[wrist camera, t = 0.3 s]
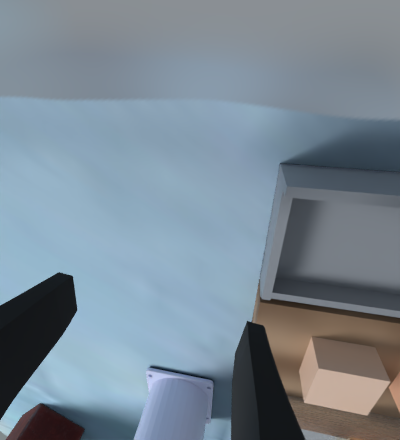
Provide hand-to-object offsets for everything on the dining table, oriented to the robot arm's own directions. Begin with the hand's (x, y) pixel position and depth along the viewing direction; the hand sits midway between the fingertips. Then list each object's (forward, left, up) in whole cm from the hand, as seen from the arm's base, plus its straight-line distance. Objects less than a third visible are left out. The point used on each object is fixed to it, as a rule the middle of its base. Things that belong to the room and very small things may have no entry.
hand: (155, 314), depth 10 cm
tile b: (-11, -12, -7) cm, 18 cm away
